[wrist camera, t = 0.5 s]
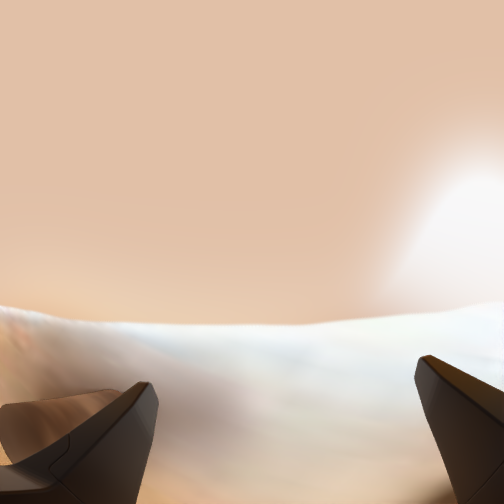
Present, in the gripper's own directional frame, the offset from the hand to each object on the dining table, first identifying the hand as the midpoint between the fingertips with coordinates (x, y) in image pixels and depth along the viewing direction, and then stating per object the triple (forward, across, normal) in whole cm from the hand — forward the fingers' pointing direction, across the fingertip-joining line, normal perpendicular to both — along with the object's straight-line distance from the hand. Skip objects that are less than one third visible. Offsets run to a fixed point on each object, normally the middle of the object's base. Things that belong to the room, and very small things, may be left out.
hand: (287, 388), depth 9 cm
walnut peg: (+9, +16, +13) cm, 22 cm away
